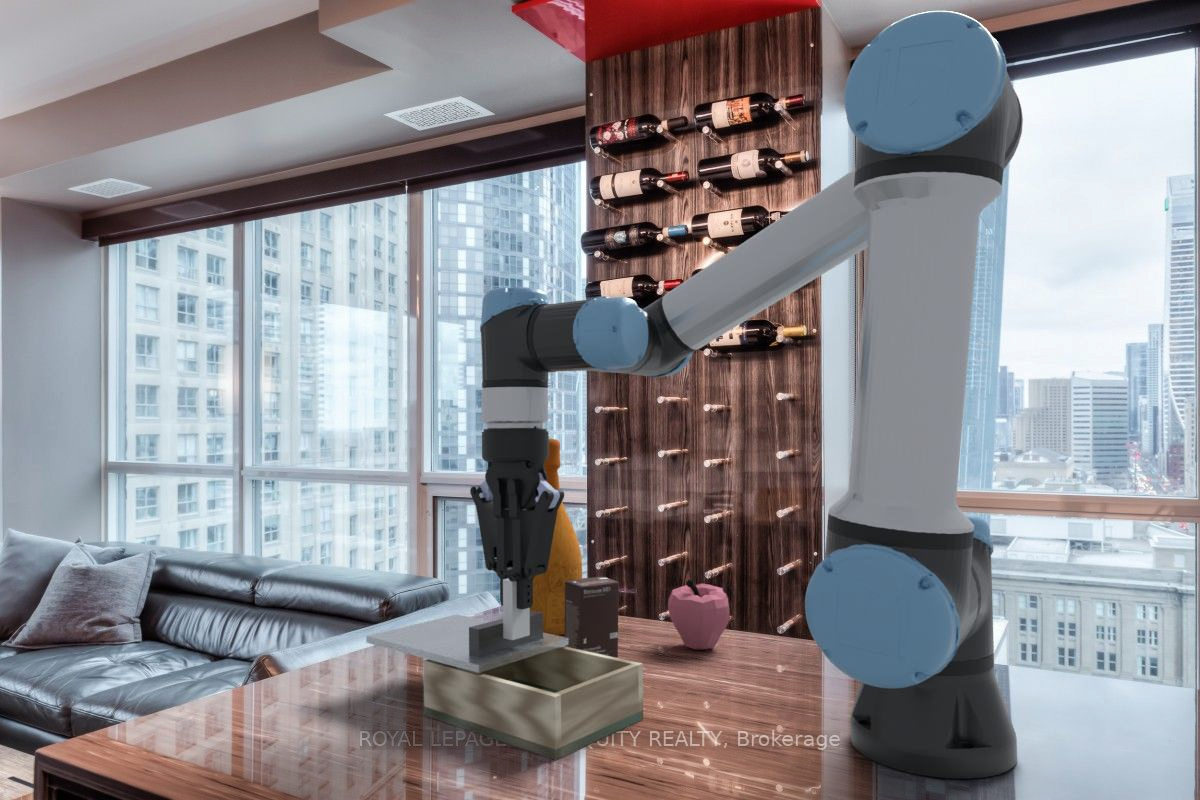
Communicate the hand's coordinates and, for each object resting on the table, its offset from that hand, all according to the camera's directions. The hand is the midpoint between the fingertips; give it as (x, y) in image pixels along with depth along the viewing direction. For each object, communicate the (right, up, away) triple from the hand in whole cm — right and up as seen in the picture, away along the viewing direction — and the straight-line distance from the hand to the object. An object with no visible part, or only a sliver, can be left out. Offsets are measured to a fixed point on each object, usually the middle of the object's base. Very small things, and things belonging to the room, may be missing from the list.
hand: (516, 636), depth 92 cm
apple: (+24, -9, +26) cm, 36 cm away
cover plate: (-7, -2, +5) cm, 9 cm away
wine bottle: (+2, -10, +37) cm, 38 cm away
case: (+2, -8, -2) cm, 9 cm away
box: (+8, -9, +14) cm, 18 cm away
